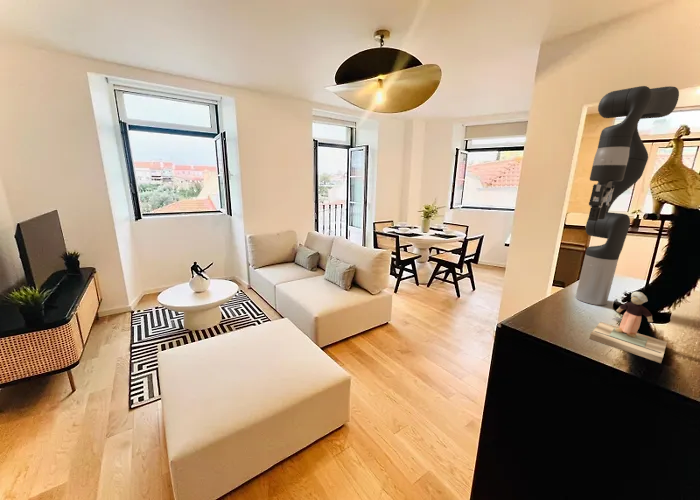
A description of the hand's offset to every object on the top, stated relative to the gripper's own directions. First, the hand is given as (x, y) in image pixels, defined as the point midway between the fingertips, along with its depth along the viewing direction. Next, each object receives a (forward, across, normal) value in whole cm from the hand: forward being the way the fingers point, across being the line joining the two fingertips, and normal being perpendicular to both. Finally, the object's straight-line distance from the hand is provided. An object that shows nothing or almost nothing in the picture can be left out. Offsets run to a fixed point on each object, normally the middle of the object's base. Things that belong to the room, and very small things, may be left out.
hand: (596, 219), depth 87 cm
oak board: (+32, -8, -14) cm, 36 cm away
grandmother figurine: (+31, -6, -14) cm, 34 cm away
